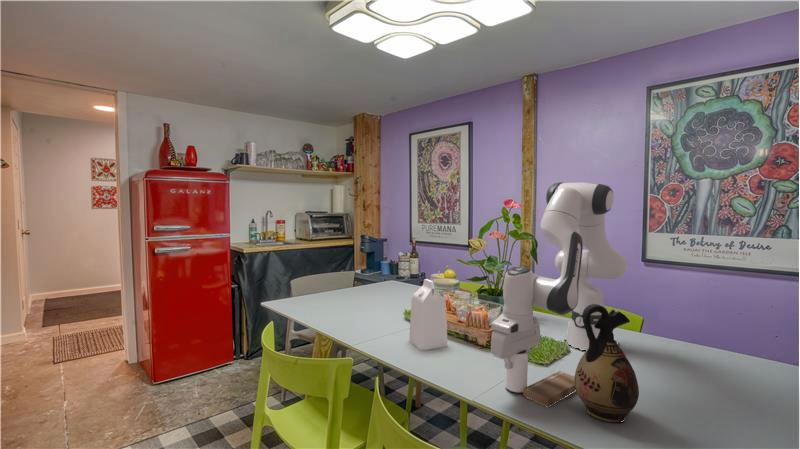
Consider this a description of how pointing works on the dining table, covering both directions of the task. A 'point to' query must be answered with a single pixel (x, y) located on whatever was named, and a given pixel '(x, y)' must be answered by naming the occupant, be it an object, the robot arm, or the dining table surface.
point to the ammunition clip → (475, 326)
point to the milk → (428, 318)
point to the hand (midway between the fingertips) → (516, 365)
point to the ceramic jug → (605, 369)
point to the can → (517, 372)
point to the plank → (551, 388)
